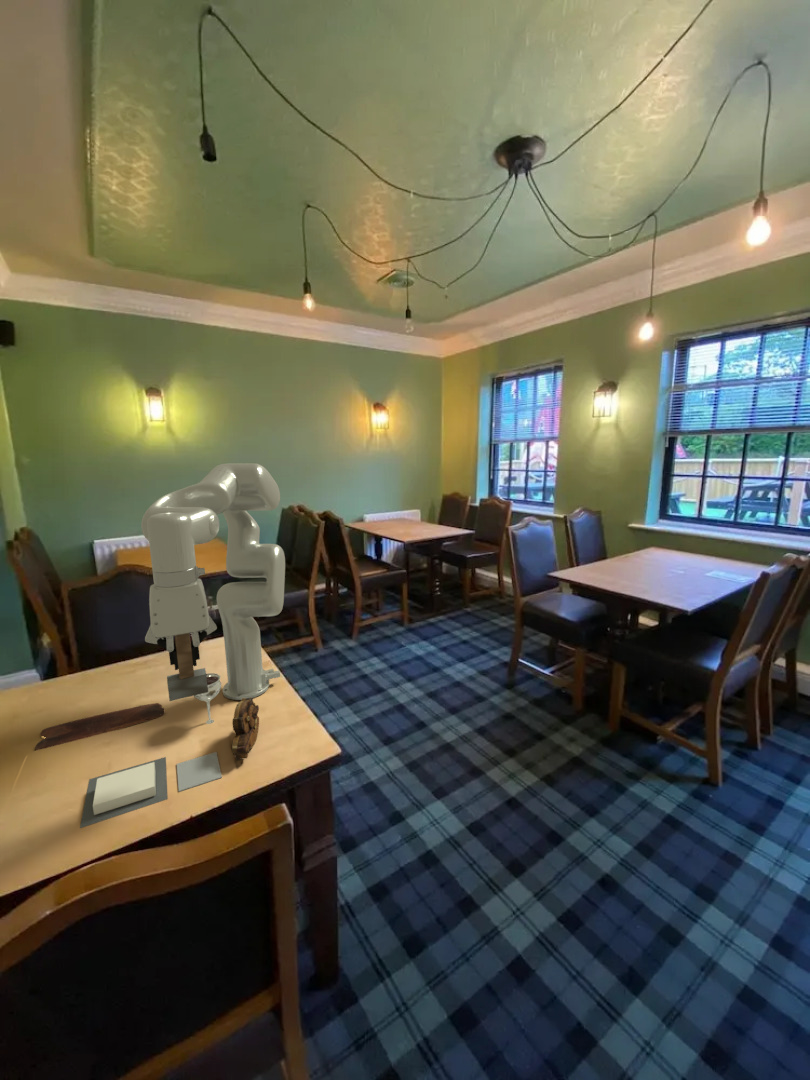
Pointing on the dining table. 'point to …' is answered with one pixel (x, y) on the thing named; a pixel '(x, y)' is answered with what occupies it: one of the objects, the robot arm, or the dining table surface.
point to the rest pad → (198, 771)
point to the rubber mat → (160, 796)
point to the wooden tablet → (98, 725)
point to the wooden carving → (245, 727)
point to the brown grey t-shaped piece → (186, 673)
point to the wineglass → (210, 692)
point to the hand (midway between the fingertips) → (185, 664)
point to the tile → (124, 788)
